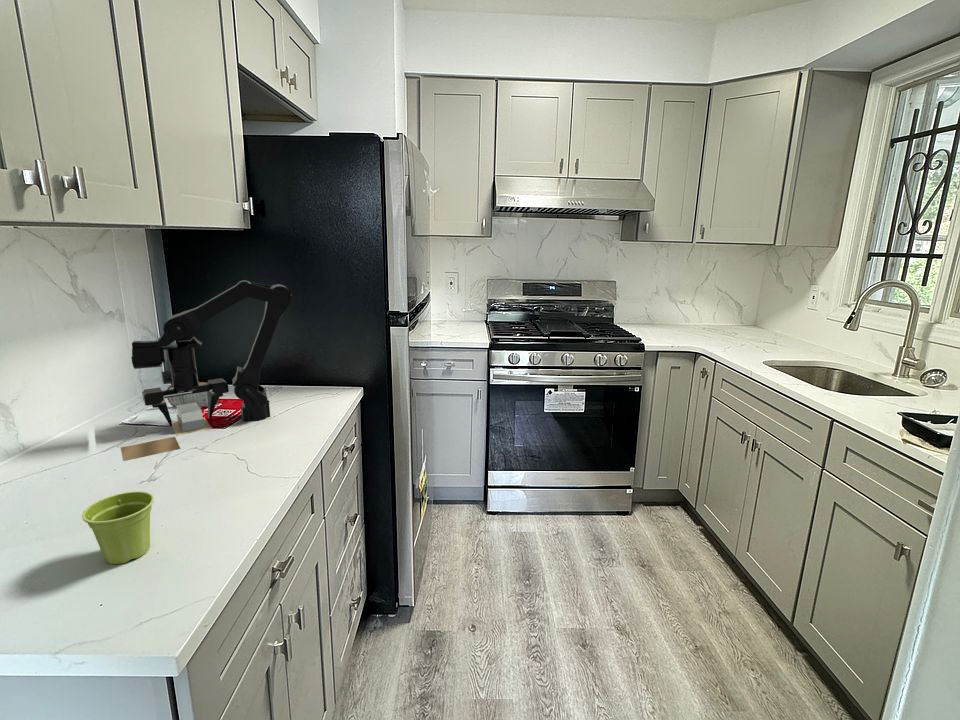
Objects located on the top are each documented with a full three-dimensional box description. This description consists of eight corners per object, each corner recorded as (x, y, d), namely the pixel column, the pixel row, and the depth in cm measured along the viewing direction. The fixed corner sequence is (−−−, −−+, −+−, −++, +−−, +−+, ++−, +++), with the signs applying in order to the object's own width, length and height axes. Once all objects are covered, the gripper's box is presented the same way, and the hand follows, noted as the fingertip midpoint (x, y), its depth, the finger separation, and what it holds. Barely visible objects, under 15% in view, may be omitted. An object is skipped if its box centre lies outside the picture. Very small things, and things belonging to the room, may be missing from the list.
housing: (199, 419, 135) (196, 402, 133) (204, 428, 129) (202, 410, 127) (177, 423, 132) (175, 405, 130) (182, 432, 126) (180, 414, 124)
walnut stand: (175, 442, 124) (174, 436, 123) (181, 454, 117) (180, 448, 116) (121, 453, 117) (120, 447, 117) (124, 467, 110) (123, 460, 110)
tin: (221, 408, 147) (218, 381, 145) (214, 412, 144) (211, 385, 142) (174, 406, 149) (170, 379, 147) (166, 410, 146) (162, 382, 144)
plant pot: (76, 572, 76) (65, 522, 74) (116, 536, 85) (108, 491, 83) (139, 571, 77) (130, 521, 74) (172, 535, 86) (165, 490, 84)
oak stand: (205, 422, 137) (204, 417, 136) (212, 433, 129) (212, 428, 129) (171, 428, 132) (170, 423, 131) (177, 440, 124) (176, 435, 124)
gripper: (216, 354, 138) (222, 406, 142) (136, 363, 126) (145, 420, 130) (225, 362, 129) (232, 418, 133) (140, 373, 118) (150, 434, 122)
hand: (190, 422), depth 130 cm, fingers open, 9 cm apart
